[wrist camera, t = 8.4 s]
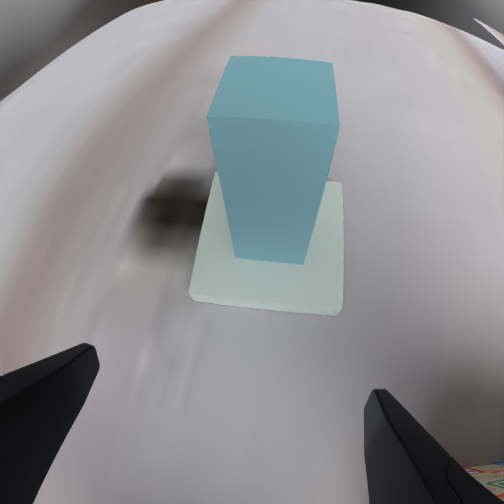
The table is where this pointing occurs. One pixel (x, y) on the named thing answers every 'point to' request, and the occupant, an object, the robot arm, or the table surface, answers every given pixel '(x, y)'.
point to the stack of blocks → (490, 477)
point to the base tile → (272, 264)
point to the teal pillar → (273, 151)
